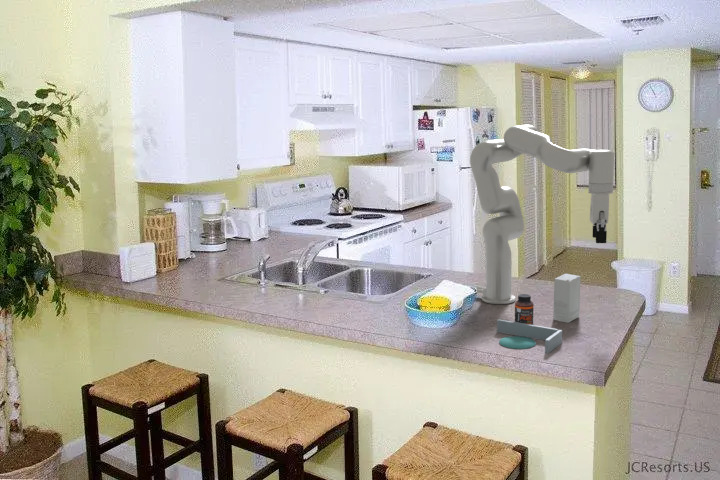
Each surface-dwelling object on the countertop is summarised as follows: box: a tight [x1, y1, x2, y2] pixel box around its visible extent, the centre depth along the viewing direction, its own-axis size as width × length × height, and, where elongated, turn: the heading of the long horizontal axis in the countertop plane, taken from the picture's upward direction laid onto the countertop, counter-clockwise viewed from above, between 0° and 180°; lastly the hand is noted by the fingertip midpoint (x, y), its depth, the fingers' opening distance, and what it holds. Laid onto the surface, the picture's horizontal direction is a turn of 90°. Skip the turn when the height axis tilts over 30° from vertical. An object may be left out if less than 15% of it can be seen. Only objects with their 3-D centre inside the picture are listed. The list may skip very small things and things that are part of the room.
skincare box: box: [552, 273, 581, 324], centre depth 233 cm, size 8×6×15 cm
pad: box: [498, 335, 537, 350], centre depth 212 cm, size 11×11×1 cm
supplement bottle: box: [514, 293, 534, 325], centre depth 225 cm, size 6×6×11 cm
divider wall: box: [496, 319, 563, 354], centre depth 213 cm, size 22×12×4 cm, turn 53°
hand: (599, 240), depth 226 cm, fingers open, 9 cm apart
